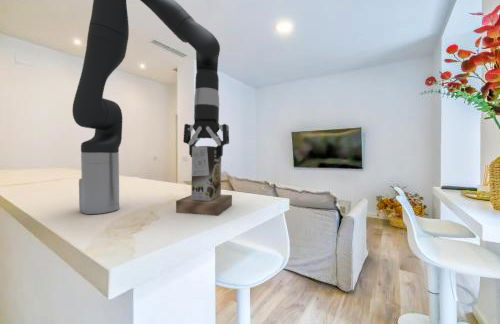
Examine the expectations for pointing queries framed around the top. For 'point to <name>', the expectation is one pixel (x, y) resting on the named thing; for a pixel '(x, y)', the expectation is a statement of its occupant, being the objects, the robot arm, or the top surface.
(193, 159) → the coffee box
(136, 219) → the top surface
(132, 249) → the top surface
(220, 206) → the walnut block
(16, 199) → the top surface
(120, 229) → the top surface
